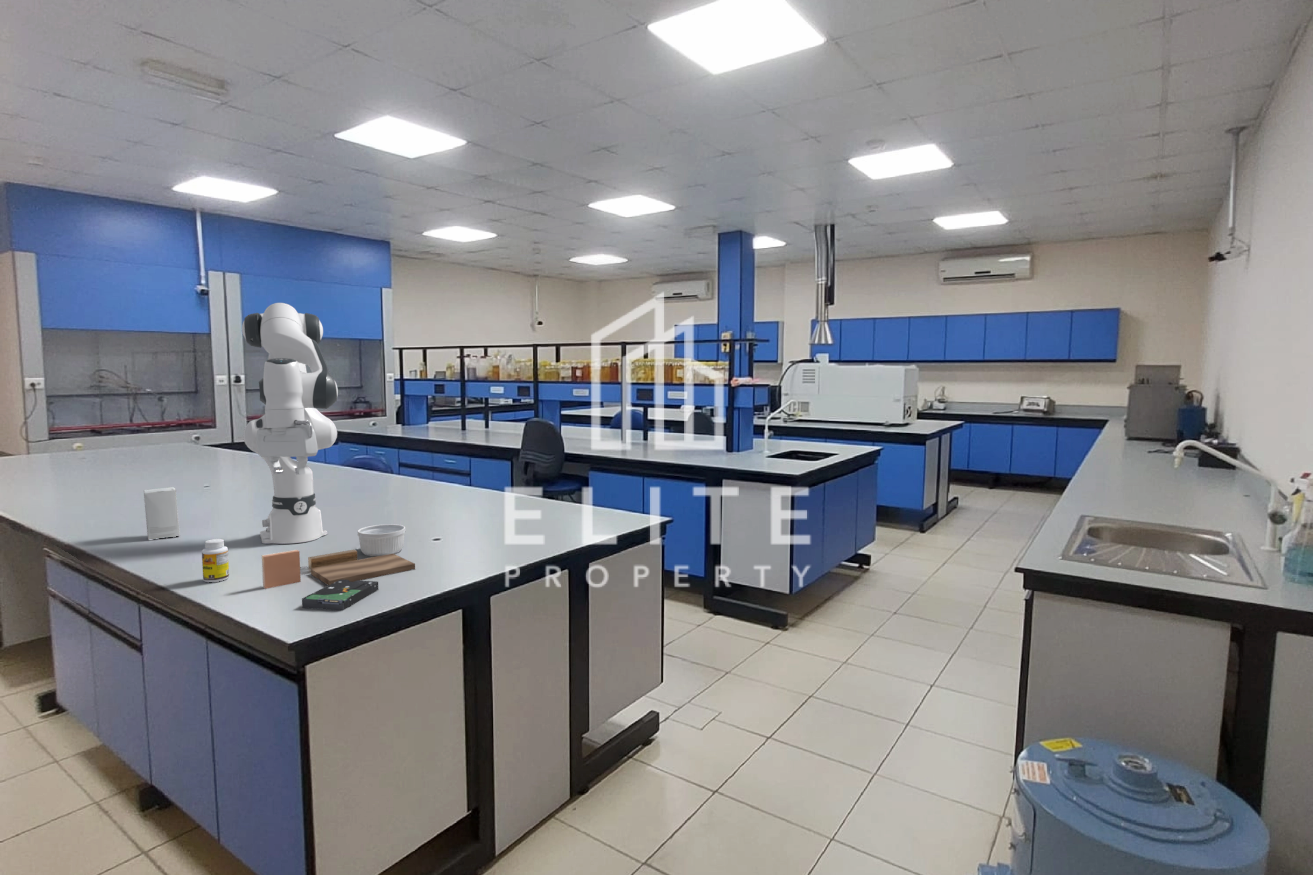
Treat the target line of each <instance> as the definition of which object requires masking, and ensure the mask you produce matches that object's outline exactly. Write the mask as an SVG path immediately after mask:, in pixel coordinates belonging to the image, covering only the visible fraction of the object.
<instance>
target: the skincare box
mask: <svg viewBox="0 0 1313 875" xmlns="http://www.w3.org/2000/svg"><path fill="white" fill-rule="evenodd" d="M143 500H144V512H145V521H146V533H147V534H146V535H147V538H148V540H149V539H156V538H163V537H173V538H177V537H176V536H179V537H180V536H181V535H180V522H179V511H178V499H177V489H176V488H175V487H174V486H171V487H170V486H169V487H161V488H152V489H151V488H150V489H144V490H143Z"/></svg>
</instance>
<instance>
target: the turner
mask: <svg viewBox="0 0 1313 875" xmlns="http://www.w3.org/2000/svg"><path fill="white" fill-rule="evenodd" d="M307 559H308V560H307V562H308V564H307V565H304V566H300V576H303V575H304V576H305V575H308V574H309V575H311V568H317V567H322V566H328V565H333V564H339V563H344V562H350V561H355V560H358V551H357V550H356V549H349V550H343V551H338V552H331V553H326V554H320V555H313V556H308V557H307Z"/></svg>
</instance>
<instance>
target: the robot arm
mask: <svg viewBox="0 0 1313 875" xmlns="http://www.w3.org/2000/svg"><path fill="white" fill-rule="evenodd" d="M241 332H242V335H243V338H244V339H245V342H246V343H247V344H248V345H249V346H251V347H254V348H263V349H264V350H265V352H266V353H268V359H267V360H265V362H264V365H263V366H264V367H263V378H261V379H260V380H259V381H258V387H259V389H258V390H259V401H260V402H261V403H263V404H264V405H265V406H264V414H263V415H262V416H261V417H259V418H257V419H253V420H252V419H251V420H249V422H248V423H246V425H245V427H244V430H243V435H242V437H243V440H244V441H243V442H244V444H245V445H246V447H247V448H248V449H249V450H251V451H252V452H253V453H256V455H258V456H259V457H261V459H263V460H264V462H266V464H267V466H268V468H269V469H270V472H271V477H272V485H273V486H272V487H273V496H272V500H271V507H272V508H271V511H270V513H269V514H268V516H267V518H265V519H262V521H261V522H262V523H261V526H262V528H266V529H265V530H262V531H259V536H260V539H261V540H260V541H261V544H263V545H264V544H266V545H267V544H279V545H280V544H283V545H284V544H285V545H286V544H297V543H299V544H300V543H305V542H306V543H307V542H312V541H314V540H318V539H319V538H321V537H322V536H326V535H328V531H327V530H326V529H325V530H324V529H323V521H322V511H321V509H319V508H318V507H317V506H316V503H317V502H316V500H317V498H316V494H315V493H314V472H313V470H312V468H311V467H310V466H308V465H307V463H308V460H309V459H308V458H309V457H315V456H317V454H318V451H319V450H324V449H328V448H331V447H332V446H333V445H334V443H335V442H336V440H337V438H338V430H337V427H336V424H335V423H334V421H332V420H331V419H330V418H329V417H327V416H325V415H324V414H323V413H321V412H320V410H318V409H323V410H325V409H327V410H328V409H329V408H330V407H332V406H333V405H334V404H335V403H336V402H337V400H338V395H339V389H338V388H339V387H338V385H337V382H336V380H335V378H334V375H333V374H332V372H331V371H330V368H329V367H328V364H327V362H326V359H325V357H324V355H323V352H322V350H321V347H320V346H319V344H320V343H321V342H322V341H321V340H322V338H323V335H324V327H323V324H322V322H321V320H320V318H319V316H317V315H316V314H312V313H307V312H304V313H301V312H298V311H297V310H296V308H295V307H293V306H292V305H291V304H288V303H284V302H275V303H272V304H270V305H268V306H267V307H266V309H265V310H264V312H263V313H262V312H261V313H259V312H254V313H250V314H249V313H248V315H246V316H245V317H244V319H243V322H242V326H241ZM307 366H308V367H309V369H310V371H311V372H308V371H307ZM292 458H295V459H296V460H294V459H292Z"/></svg>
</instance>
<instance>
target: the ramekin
mask: <svg viewBox="0 0 1313 875" xmlns="http://www.w3.org/2000/svg"><path fill="white" fill-rule="evenodd" d="M405 533H406V526H405V525H402V524H395V523H390V524H389V523H387V524H376V525H375V524H374V525H369V526H364V527H361V528H359V529H358V530H357V536H358V540H359V545H360V551H361V552H362V554H364V555H365V556H368V557H377V556H382V555H388V554H395V555H396V554H397V553H400V552H401V551H402V550H403V548H404V544H405Z"/></svg>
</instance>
